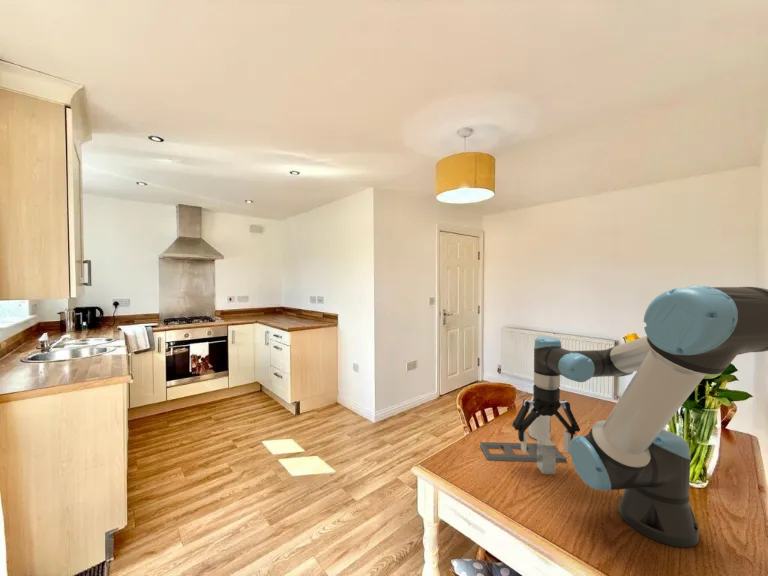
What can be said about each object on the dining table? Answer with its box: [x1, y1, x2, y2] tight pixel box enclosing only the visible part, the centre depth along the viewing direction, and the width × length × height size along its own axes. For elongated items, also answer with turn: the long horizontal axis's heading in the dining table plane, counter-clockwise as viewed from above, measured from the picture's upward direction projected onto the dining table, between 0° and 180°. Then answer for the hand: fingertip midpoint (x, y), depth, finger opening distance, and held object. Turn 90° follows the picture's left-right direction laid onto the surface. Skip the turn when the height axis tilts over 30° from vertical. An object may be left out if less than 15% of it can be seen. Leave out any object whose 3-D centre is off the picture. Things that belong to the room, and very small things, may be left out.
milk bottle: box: [528, 383, 552, 440], centre depth 125 cm, size 8×8×20 cm
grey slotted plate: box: [479, 441, 567, 463], centre depth 113 cm, size 10×26×1 cm, turn 88°
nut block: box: [536, 438, 557, 475], centre depth 102 cm, size 4×4×9 cm
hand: (545, 451), depth 103 cm, fingers open, 13 cm apart
